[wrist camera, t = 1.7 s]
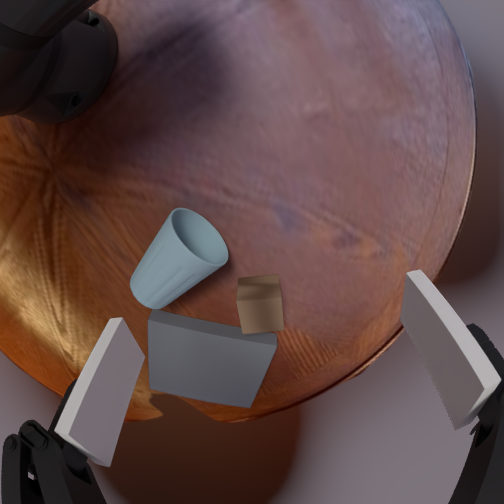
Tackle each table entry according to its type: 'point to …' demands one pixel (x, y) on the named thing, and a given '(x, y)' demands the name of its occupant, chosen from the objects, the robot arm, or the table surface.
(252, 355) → the plinth
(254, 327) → the walnut block
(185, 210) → the cup
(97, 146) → the table surface
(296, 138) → the table surface
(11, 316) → the table surface
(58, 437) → the robot arm
